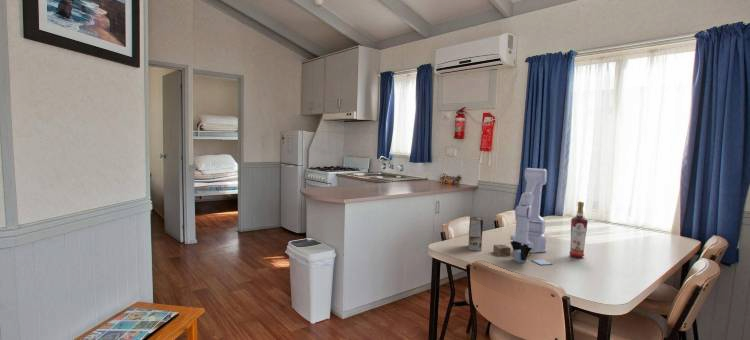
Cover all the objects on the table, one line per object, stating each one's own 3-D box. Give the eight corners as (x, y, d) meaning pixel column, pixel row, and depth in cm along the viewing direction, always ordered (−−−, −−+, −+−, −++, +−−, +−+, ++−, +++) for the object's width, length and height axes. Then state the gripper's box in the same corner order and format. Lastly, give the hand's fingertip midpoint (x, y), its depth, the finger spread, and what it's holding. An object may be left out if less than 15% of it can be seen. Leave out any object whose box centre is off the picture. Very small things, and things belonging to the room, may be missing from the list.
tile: (542, 259, 181) (542, 259, 181) (552, 264, 175) (552, 263, 175) (530, 260, 179) (530, 259, 179) (540, 265, 173) (540, 264, 173)
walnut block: (503, 252, 193) (504, 244, 193) (510, 255, 187) (510, 247, 187) (493, 252, 192) (493, 244, 191) (499, 256, 186) (499, 248, 186)
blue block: (520, 259, 181) (521, 249, 181) (526, 262, 177) (527, 252, 177) (513, 260, 180) (514, 249, 179) (519, 262, 176) (519, 252, 176)
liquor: (569, 257, 186) (573, 202, 184) (567, 253, 193) (571, 200, 191) (585, 259, 184) (590, 203, 181) (583, 255, 190) (587, 201, 188)
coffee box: (481, 251, 193) (483, 220, 191) (468, 250, 194) (470, 219, 193) (480, 246, 202) (481, 217, 200) (468, 245, 203) (469, 216, 201)
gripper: (505, 227, 183) (503, 253, 184) (524, 234, 169) (522, 263, 170) (517, 226, 185) (516, 253, 186) (537, 234, 171) (535, 262, 172)
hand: (520, 258), depth 178 cm, fingers open, 5 cm apart
